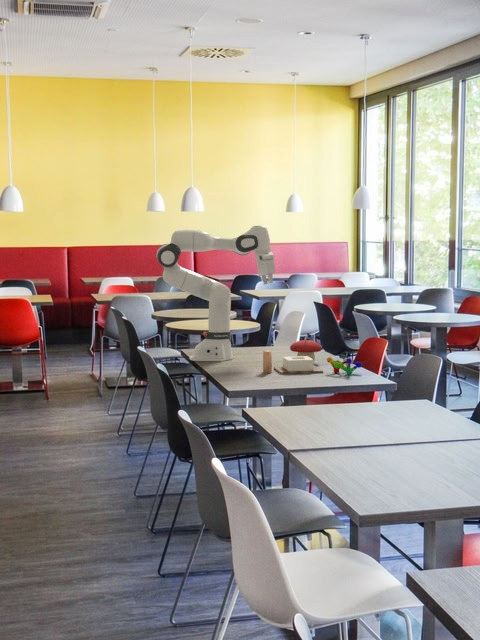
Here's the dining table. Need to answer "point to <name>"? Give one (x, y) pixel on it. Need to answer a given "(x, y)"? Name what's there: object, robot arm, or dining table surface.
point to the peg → (267, 361)
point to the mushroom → (306, 347)
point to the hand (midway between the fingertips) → (268, 283)
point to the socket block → (298, 363)
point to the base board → (284, 371)
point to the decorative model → (340, 365)
